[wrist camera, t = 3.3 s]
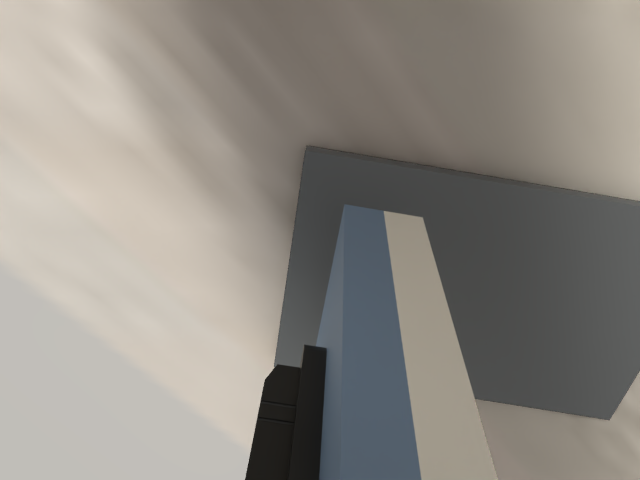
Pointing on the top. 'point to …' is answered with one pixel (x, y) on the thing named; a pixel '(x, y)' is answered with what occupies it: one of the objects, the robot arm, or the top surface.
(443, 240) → the mat
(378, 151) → the top surface
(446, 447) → the card deck
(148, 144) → the top surface
